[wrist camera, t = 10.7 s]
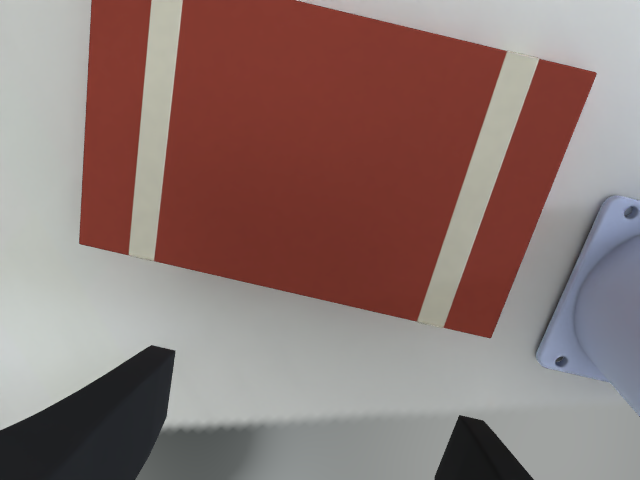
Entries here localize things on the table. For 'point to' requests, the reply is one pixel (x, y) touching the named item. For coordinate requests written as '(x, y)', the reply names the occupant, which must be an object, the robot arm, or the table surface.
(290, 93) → the towel
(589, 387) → the table surface
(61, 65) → the table surface
